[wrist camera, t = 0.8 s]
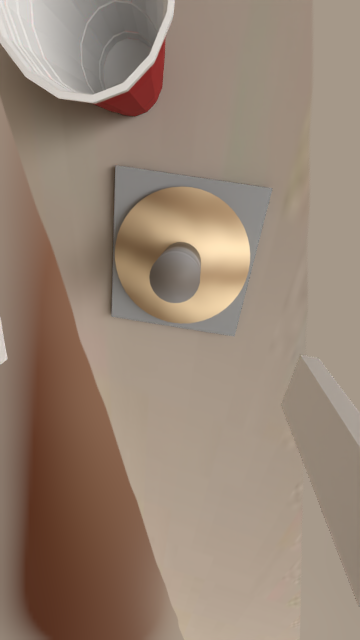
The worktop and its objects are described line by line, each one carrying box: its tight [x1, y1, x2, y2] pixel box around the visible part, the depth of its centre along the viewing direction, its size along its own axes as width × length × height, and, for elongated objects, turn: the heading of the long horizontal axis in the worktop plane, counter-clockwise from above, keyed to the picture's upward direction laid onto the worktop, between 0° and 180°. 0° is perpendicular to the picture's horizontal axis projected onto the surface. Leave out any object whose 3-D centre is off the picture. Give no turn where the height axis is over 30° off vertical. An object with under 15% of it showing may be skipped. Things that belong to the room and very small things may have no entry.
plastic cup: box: [0, 0, 175, 116], centre depth 18 cm, size 11×11×12 cm
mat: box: [112, 165, 272, 336], centre depth 30 cm, size 17×16×1 cm
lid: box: [115, 187, 250, 323], centre depth 26 cm, size 15×15×8 cm
